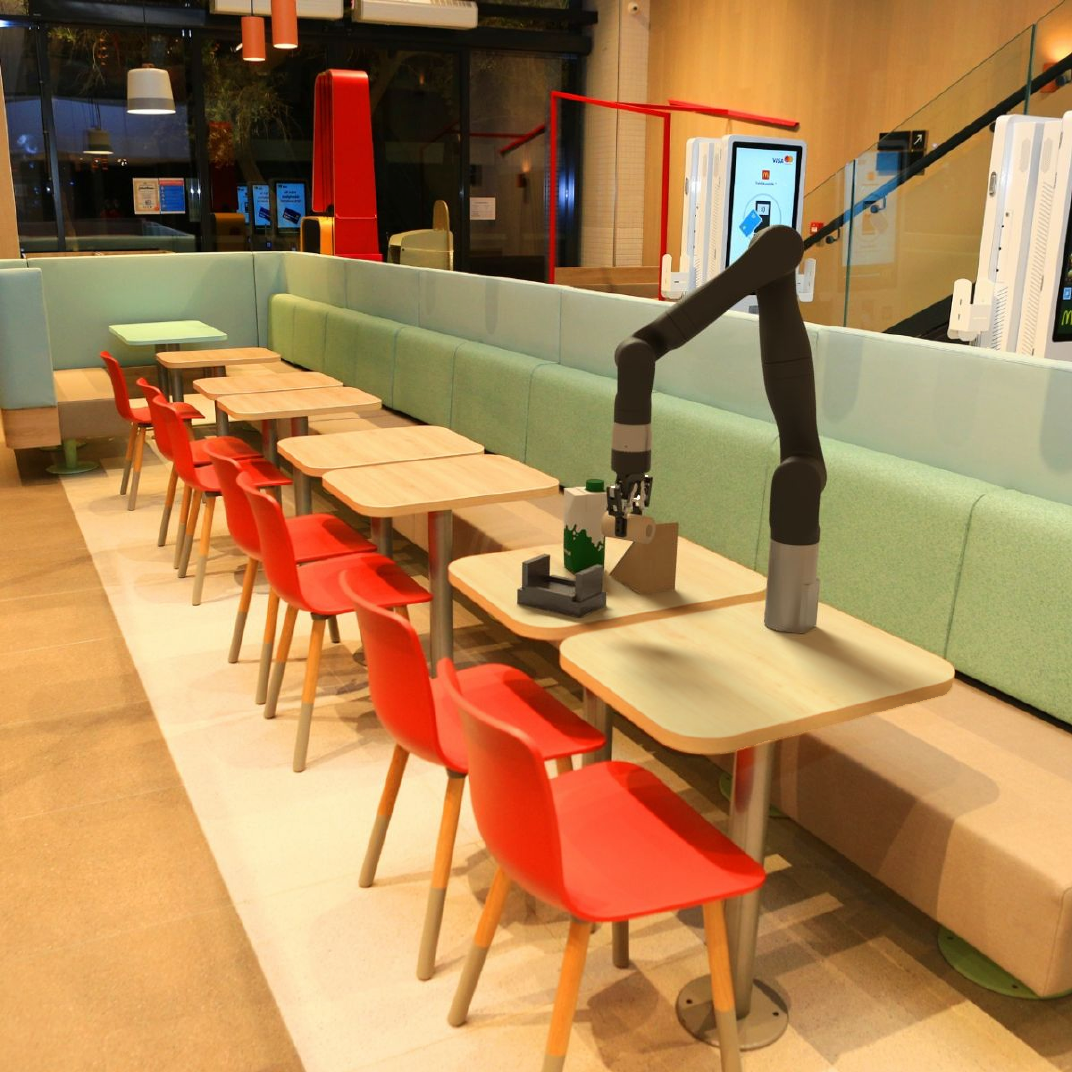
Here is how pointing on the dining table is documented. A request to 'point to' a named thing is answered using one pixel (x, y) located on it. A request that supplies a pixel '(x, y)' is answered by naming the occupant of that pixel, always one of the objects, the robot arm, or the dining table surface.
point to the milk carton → (584, 526)
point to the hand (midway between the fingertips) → (628, 533)
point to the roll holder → (561, 589)
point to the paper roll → (631, 528)
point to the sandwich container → (650, 562)
